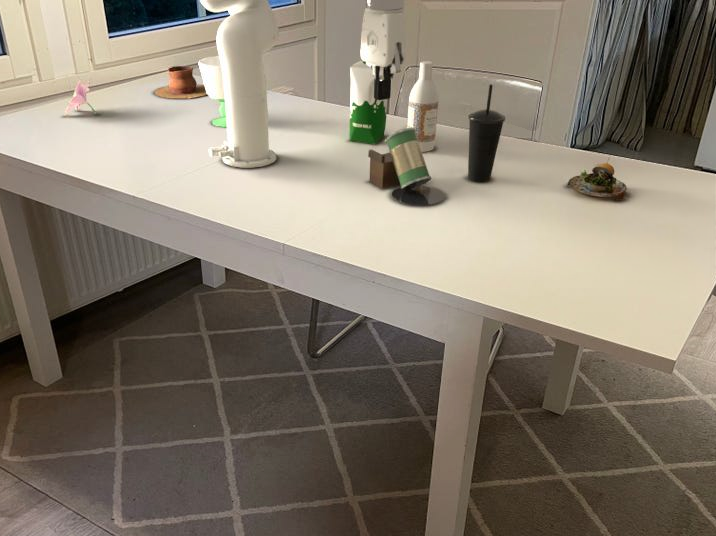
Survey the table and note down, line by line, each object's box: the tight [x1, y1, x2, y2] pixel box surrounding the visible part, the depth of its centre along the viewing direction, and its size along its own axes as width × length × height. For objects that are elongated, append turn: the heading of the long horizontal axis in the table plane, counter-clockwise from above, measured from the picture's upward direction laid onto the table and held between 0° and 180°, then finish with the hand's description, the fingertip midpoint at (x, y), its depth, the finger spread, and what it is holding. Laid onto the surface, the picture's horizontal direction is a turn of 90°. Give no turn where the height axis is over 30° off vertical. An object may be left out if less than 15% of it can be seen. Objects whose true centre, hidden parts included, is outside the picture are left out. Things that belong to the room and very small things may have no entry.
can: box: [384, 127, 432, 191], centre depth 148 cm, size 7×12×13 cm, turn 31°
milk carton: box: [349, 60, 388, 145], centre depth 176 cm, size 9×9×20 cm
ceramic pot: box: [154, 65, 208, 100], centre depth 220 cm, size 18×18×7 cm
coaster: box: [391, 185, 445, 207], centre depth 149 cm, size 11×11×1 cm
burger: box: [567, 156, 628, 202], centre depth 149 cm, size 12×12×8 cm
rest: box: [368, 149, 401, 190], centre depth 154 cm, size 9×5×7 cm, turn 121°
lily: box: [63, 78, 98, 117], centre depth 199 cm, size 12×12×10 cm
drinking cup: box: [467, 84, 506, 184], centre depth 152 cm, size 8×8×20 cm
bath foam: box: [406, 60, 439, 153], centre depth 170 cm, size 7×7×20 cm
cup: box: [198, 55, 227, 128], centre depth 190 cm, size 14×14×16 cm
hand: (382, 98), depth 150 cm, fingers closed
